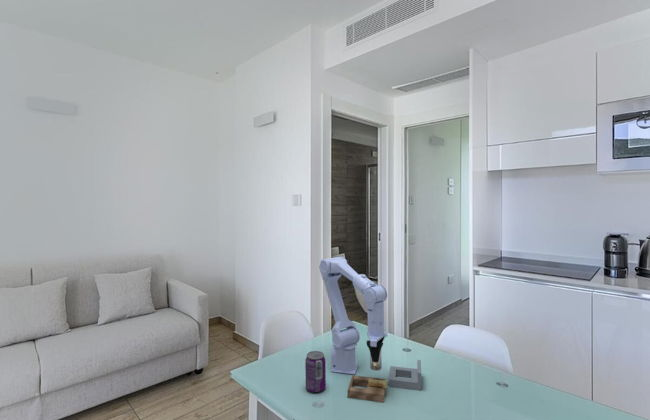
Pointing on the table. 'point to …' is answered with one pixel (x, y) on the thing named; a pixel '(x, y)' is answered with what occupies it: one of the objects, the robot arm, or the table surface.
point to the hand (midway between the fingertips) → (376, 358)
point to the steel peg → (376, 363)
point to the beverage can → (315, 371)
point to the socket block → (365, 394)
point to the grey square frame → (405, 382)
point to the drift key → (377, 383)
